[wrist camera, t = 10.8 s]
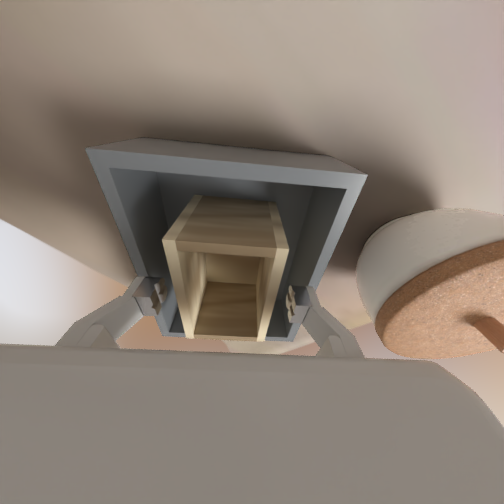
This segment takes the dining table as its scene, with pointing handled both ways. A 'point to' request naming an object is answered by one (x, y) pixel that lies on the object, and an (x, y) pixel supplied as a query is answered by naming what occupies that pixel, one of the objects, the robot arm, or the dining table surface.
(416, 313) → the lidded jar
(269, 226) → the pine crate
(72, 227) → the dining table surface
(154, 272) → the grey crate
